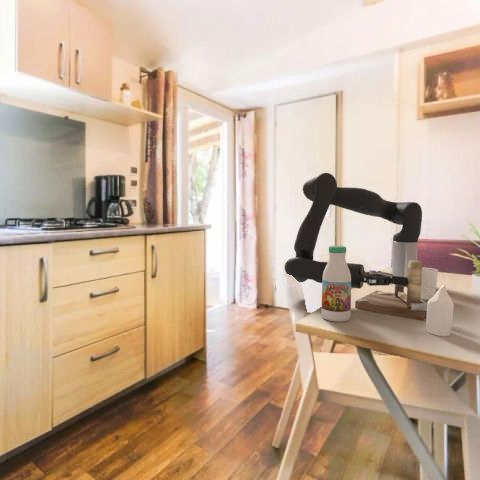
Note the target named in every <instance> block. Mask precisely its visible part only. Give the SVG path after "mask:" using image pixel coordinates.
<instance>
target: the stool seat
mask: <svg viewBox="0 0 480 480" xmlns="http://www.w3.org/2000/svg"><path fill="white" fill-rule="evenodd" d="M430 299H431V298H424V297H421V300H423V301H424V302H426V303H427V304H428V301H429V300H430ZM354 308H355V309H361V310H366V311H372V312H376V313H382V314H388V315H393V316H398V317H404V318H409V319H413V320H414V319H415V320H419V321H425V319H427V311H412V310H411V307H408V306H407V303H406V302H405V301H404V300H402V299H401V298H400V297H398V296H395V292H388V291H382V290H374V291H372V292H371V293H369V294H367V295H365V296H363V297H361V298H359V299H357V300H355V303H354Z"/></svg>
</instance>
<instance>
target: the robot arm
mask: <svg viewBox="0 0 480 480" xmlns="http://www.w3.org/2000/svg"><path fill="white" fill-rule="evenodd" d="M302 192H303V195H304V196H305V198H306V199H308V200H309V201H310V202H312V204H311V205H310V208H309V211H308V213H307V214H306V216H305V217H304V219H303V221H302V222H301V224H300V226H299V228H298V231H297V234H296V239H295V242H294V245H293V249H294V251H295V257H291V258H289V259H288V260H286V262H285V264H284V271H285V273H286V275H287V274H289V275H292V276H293V277H294V278H295V279H296V280H297V281H298V283H305V282H306V281H307V280H312V281H314V282H316V283H320V284H322V279H323V272H324V269H325V267H326V265H327V263H328V261H318V260H314V251H315V249H316V245H317V242H318V238H319V234H320V231H321V228H322V225H323V223H324V219H325V217H326V215H327V212H328V211H329V208H330V205H331V206H336V207H339V208H342V209H344V210H345V209H346V210H348V211H352V212H355V213H358V214H362V215H364V216H365V215H366V216H371V217H375V218H376V217H377V218H381V219H383V220H386V221H388V222H390V223H393V224H396V225H401V226H402V228H401V230H400V231H399V232H397V233H395V234H393V237H392V256H391V257H392V261H391V273H389V272H385V271H381V270H378V271H377V270H373V269H371V270H367V271H366V270H365V265H363V264H361V263H351V262H346V263H347V266H348V268H349V270H350V274H351V289H352V288H353V289H362V287H363V286H364V284H367V285H368V286H369V287H370V286H371V287H372V286H373V287H374V286H375V287H376V286H387V287H388V286H392V285H395V284H397V285H404V286H407V283H408V261H410V260H414V261H418V252H419V249H418V248H419V238H420V237H421V236H420V235H421V229H422V221H423V211H422V206H421V205H420V204H419V203H418V202H414V201H407V202H406V201H404V202H402V201H401V202H396V201H395V202H394V201H389V200H387V199H386V200H385V199H384V198H383V197H382V196H380V195H379V193H376V192H374V191H373V190H368V189H366V188H362V187H348V186H347V187H342V186H340V187H339V186H338V183H337V179H336V177H335V176H333V174H332V173H329V172H322V173H318V174H316V175H314V176H313V177H310V178H309V179H307V180H306V181H305V182H304V183H303V185H302ZM297 281H296V282H297Z"/></svg>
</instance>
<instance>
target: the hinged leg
mask: <svg viewBox="0 0 480 480" xmlns="http://www.w3.org/2000/svg"><path fill="white" fill-rule="evenodd" d="M422 267H423V261H422V260H417V261H414V260H410V261H408V283H407V285H406V286H407V288H406V293H405V290H404V289H405V285H397V284H394V293H395V296H398V297H400V298H401V299H402V300H404V301H405V302H406V303H407V306H408V307H411V303H420V300H421V279H422Z"/></svg>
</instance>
